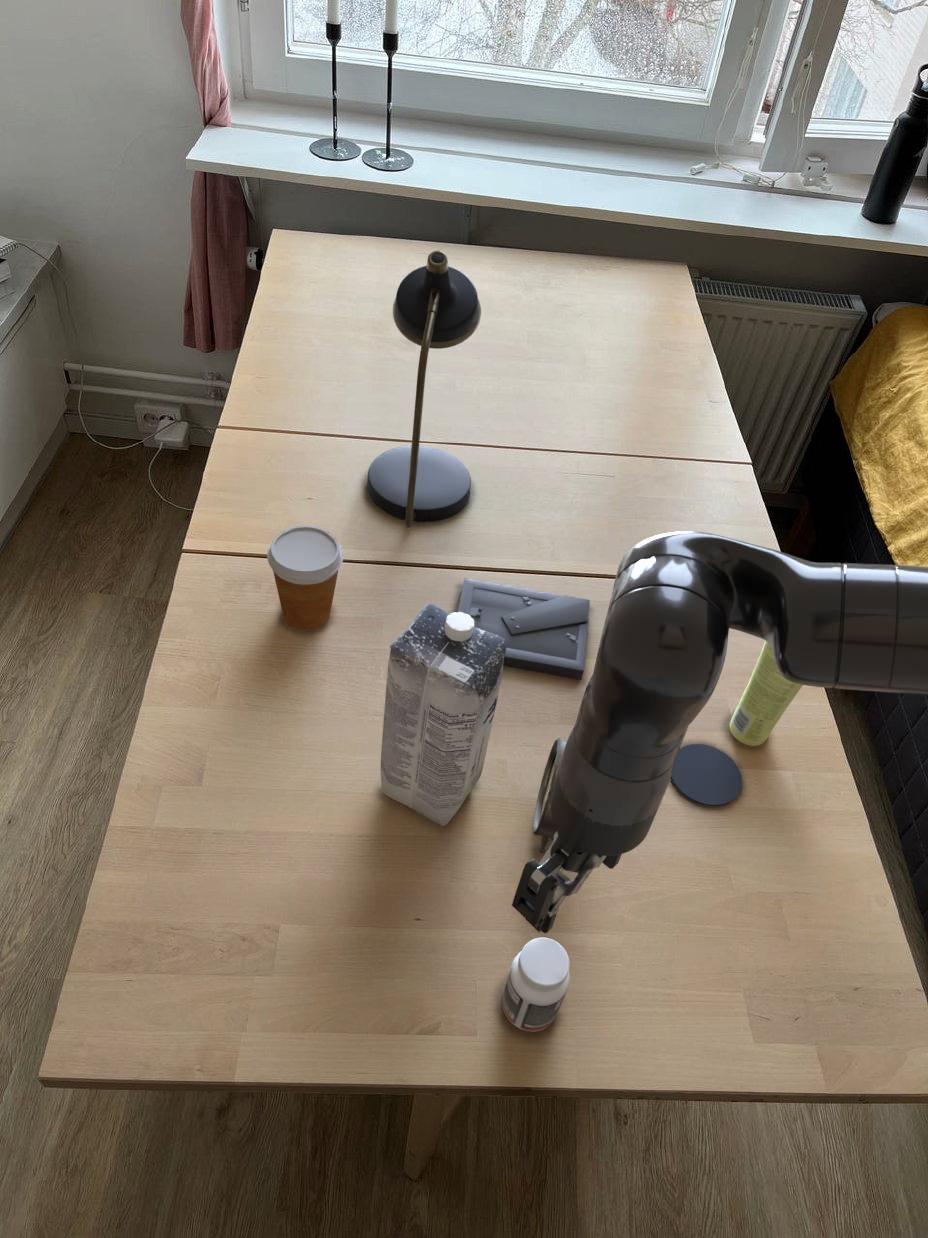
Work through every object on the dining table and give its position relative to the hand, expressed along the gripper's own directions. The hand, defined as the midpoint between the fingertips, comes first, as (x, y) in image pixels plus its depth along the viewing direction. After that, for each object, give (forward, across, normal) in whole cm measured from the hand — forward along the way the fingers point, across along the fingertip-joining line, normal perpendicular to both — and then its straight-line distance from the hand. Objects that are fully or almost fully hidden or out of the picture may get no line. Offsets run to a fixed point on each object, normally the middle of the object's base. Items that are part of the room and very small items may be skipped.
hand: (572, 890), depth 80 cm
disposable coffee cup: (+23, +17, +56) cm, 63 cm away
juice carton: (+23, +10, +25) cm, 36 cm away
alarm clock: (+23, +18, +12) cm, 32 cm away
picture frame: (+23, +37, +35) cm, 56 cm away
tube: (+24, +47, +4) cm, 53 cm away
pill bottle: (+23, 0, 0) cm, 23 cm away
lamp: (+23, +46, +65) cm, 83 cm away
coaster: (+23, +37, +4) cm, 44 cm away
